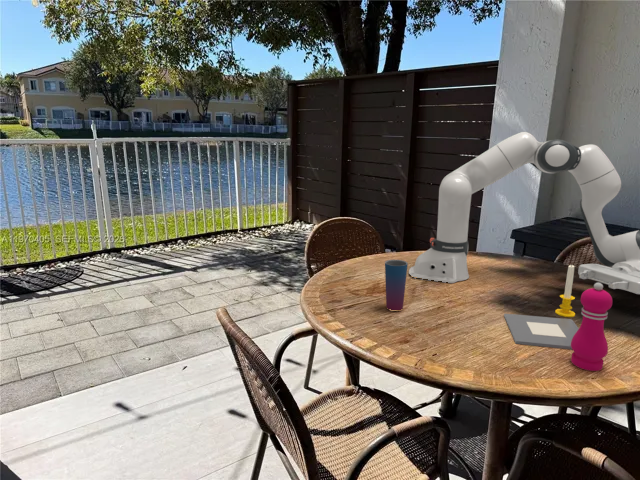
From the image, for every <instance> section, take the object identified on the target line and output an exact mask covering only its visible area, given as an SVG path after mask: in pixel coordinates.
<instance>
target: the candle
mask: <svg viewBox="0 0 640 480" xmlns="http://www.w3.org/2000/svg"><path fill="white" fill-rule="evenodd" d="M566 273H567V274H566V278H565V279H566V280H565V287H564V293H563V294H560V295H559V297H560V298H561V299H562V301H561V304H560V305H559V307H560V308H557V309H555V312H554V313H555V314H556V315H558V316H560V317H563V318H573V317H575V316H576V313H575V312H574V311H573V310H572V309H573V306H572V305H571V303H572V301H573V300H575V298H576V297H575V296H573V295H572V289H573V282H574V274H575V265H573V264H570V265H568V267H567V272H566Z"/></svg>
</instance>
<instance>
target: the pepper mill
mask: <svg viewBox="0 0 640 480" xmlns="http://www.w3.org/2000/svg"><path fill="white" fill-rule="evenodd" d="M603 288H604V285H603V283H601V282H594V284H593V287H592V288H588V289H585V290H584V291H582V293H581V295H580V303H581V305H582V306H583V307H581V312H580V314H581V315H582V320H581V324H580V326H579V327H578V328H579V329H578V331H577V332H576V333H575V335H574V336H573V338H572V341H571V348H572V349H573V350H572V349H571V350H572V351H573V352H572V353H571V359H570V362H571V364H573V366H575V367H577V368H579V369H582V370H585V371H591V372H596V371H597V372H598V371H601V370H602V369H603V368H604V367H603V366H604V359H603V358H605V357H606V356H607V355H608V352H609V347H608V346H609V345H608V341H607V338H606V335H605V331H604V330H605V329H604V325H605V320H607V319H608V314H609V312H608V311H609V310H610V309H611V308H612V306H613V297H612V296H611V294H610V293H609V292H608V291H606V290H604V289H603Z"/></svg>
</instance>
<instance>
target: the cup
mask: <svg viewBox="0 0 640 480" xmlns="http://www.w3.org/2000/svg"><path fill="white" fill-rule="evenodd" d="M407 273H408V262H407V261H405V260H402V259H387V260H385V261H384V276H385V278H384V279H385V306H386V307H387V308H388V309H391V310H401V309H403V310H404V303H405V302H404V301H405V293H406V283H407V282H406V281H407Z"/></svg>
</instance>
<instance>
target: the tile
mask: <svg viewBox="0 0 640 480" xmlns="http://www.w3.org/2000/svg"><path fill="white" fill-rule="evenodd" d="M503 317H504V319H505V322H506V325H507V327H508V328H509V331H510V333H511V337H512V338H513V341H514V343H515V344H516V345H524V346H533V347H534V346H535V347H542V348H543V347H545V348H555V349H565V350H572V351H573V349H572V348H571V341H572V338H573V336H574V335H575V333H576V332H577V331H578V329H579V328H580V327H578V326H577V324H576V323H575V321H574V320H573V319H570V318H559V317H549V316H538V315H525V314H514V313H513V314H512V313H504V314H503Z"/></svg>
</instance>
